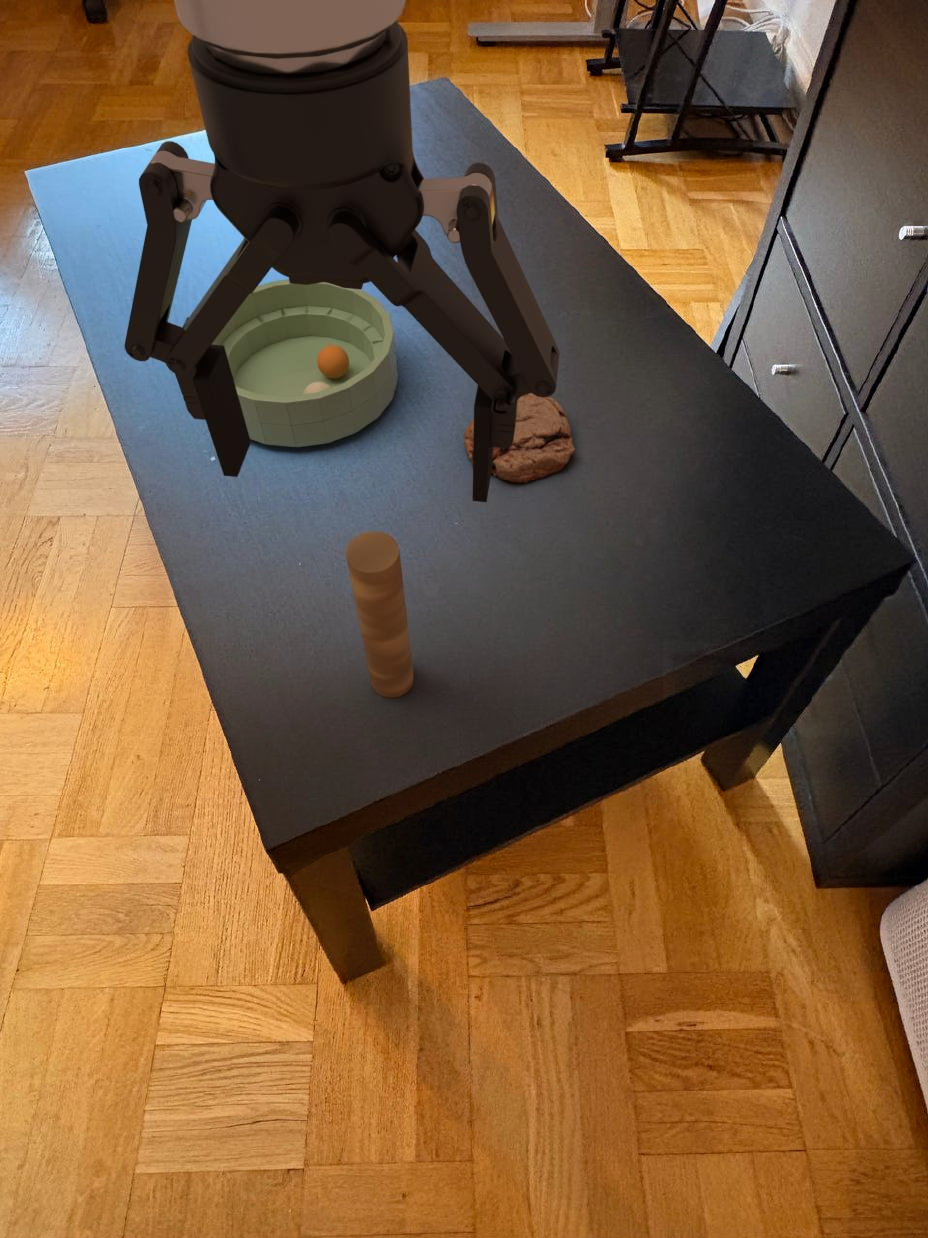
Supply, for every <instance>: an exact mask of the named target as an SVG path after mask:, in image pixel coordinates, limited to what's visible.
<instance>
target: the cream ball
mask: <svg viewBox="0 0 928 1238" xmlns="http://www.w3.org/2000/svg"><path fill="white" fill-rule="evenodd" d="M329 388H331V387H330V386H329V385H328V384H326V383H324V382H314V383H311V384H310V385H308V386H307V387H306V389H305V390H304V392H303V394H310V393H317V392H320V391H323V390H326V389H329Z"/></svg>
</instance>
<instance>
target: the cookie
mask: <svg viewBox="0 0 928 1238" xmlns="http://www.w3.org/2000/svg"><path fill="white" fill-rule="evenodd" d="M571 432H572V431H571V426H570V424H569V421H568V416H567V414H566V411H565V409H564V408H563V407H562V406H561V404H560V403H559V402H558V401H557V400H556V399H555V398H552V397H551V396H549V397H543V398H542V397H537V396H536V395H534V394H533V393H529V394H525V395H523V396H521V397H520V398H519V399H518V401H517V416H516V426H515V433H514V440H513V443H512V444H511V446H510V447H509V448H498V447H493V463H492V471H491V474H493V476H494V477H495V476H497V478H498V479H500V480H504V481H508V482H510V483H516V484H519V483H526V484H528V482H529V481H536V480H537V479H541V478H544V477H547V476H548V475H551V474H553V473H555V474H557V473H558V472H559V471H561V470H563V469H564V467H565V466H566V464H569V463H568V462H569V460H570V457H571V456H572V455H573V454H574V452H575V446H574V444H573V437H572V436H571ZM463 439H464V442H463V444H464V448H465V451H466V454H467V456H468V458H469V460H470V461H471V462H472V463H473V442H474V418H473V419H472V420H471V421H470V423H469V424H468V425H467V426H466V428H465V429H464V433H463Z"/></svg>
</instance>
